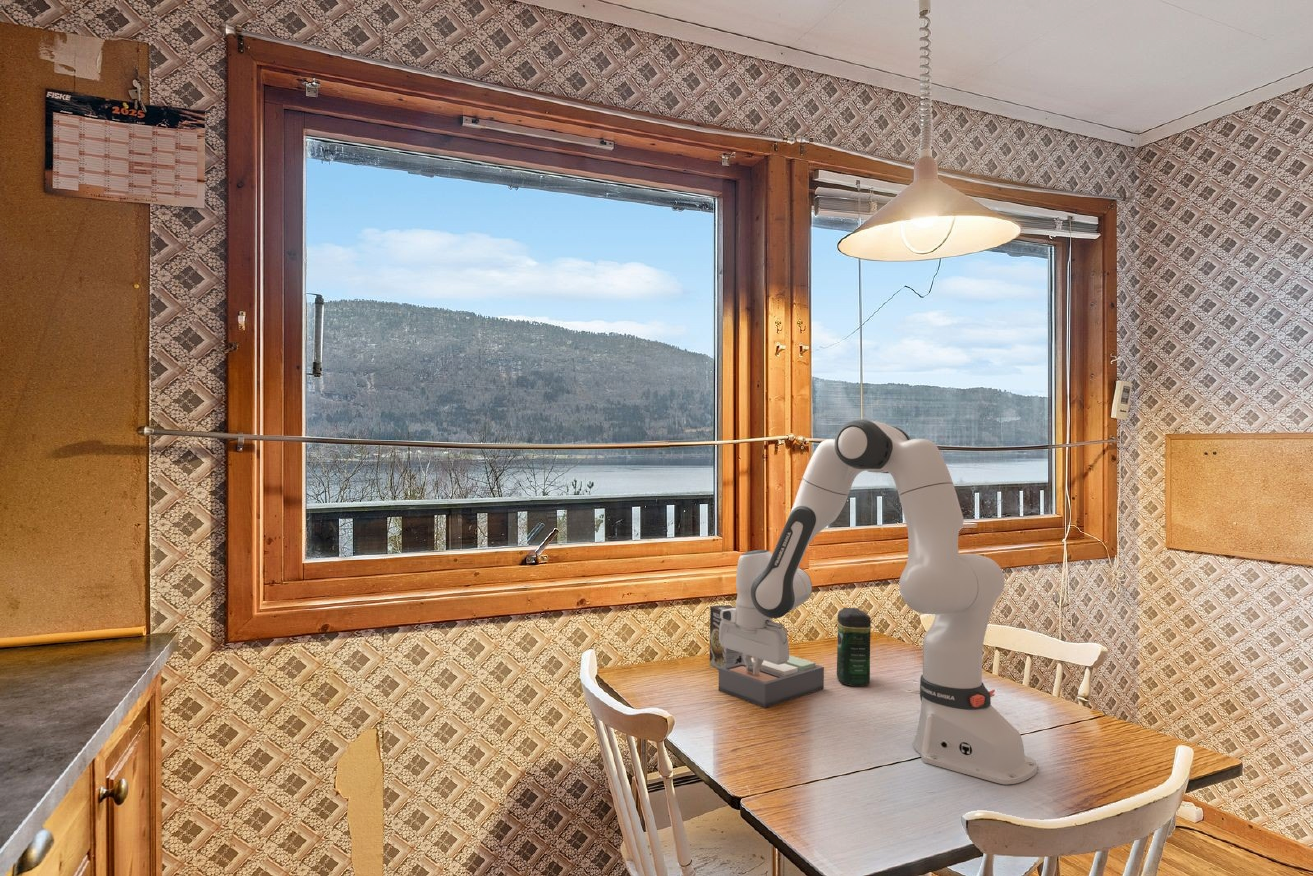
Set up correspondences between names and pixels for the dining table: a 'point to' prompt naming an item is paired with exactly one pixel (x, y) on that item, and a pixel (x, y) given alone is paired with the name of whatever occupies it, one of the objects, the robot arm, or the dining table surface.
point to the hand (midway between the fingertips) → (752, 673)
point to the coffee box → (717, 652)
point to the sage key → (800, 663)
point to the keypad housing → (770, 685)
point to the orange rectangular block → (760, 677)
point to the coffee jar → (853, 647)
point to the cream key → (778, 668)
